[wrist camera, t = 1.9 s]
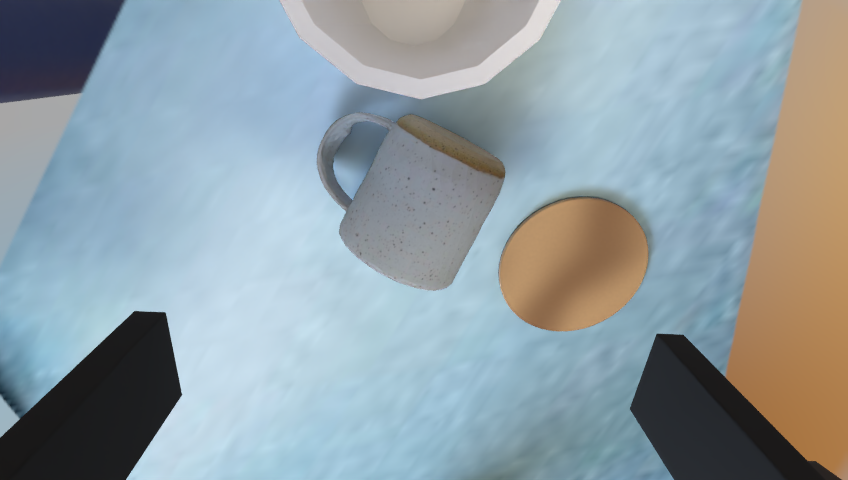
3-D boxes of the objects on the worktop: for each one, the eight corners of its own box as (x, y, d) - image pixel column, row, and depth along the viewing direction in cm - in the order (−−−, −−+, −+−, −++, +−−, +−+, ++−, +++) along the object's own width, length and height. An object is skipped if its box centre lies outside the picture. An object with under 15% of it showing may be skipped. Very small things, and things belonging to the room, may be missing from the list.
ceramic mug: (501, 151, 28) (532, 182, 21) (445, 253, 30) (455, 312, 23) (349, 76, 26) (326, 83, 19) (304, 193, 28) (268, 238, 21)
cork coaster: (488, 325, 33) (489, 328, 33) (511, 192, 29) (512, 193, 28) (623, 331, 34) (625, 334, 34) (665, 201, 30) (668, 203, 29)
